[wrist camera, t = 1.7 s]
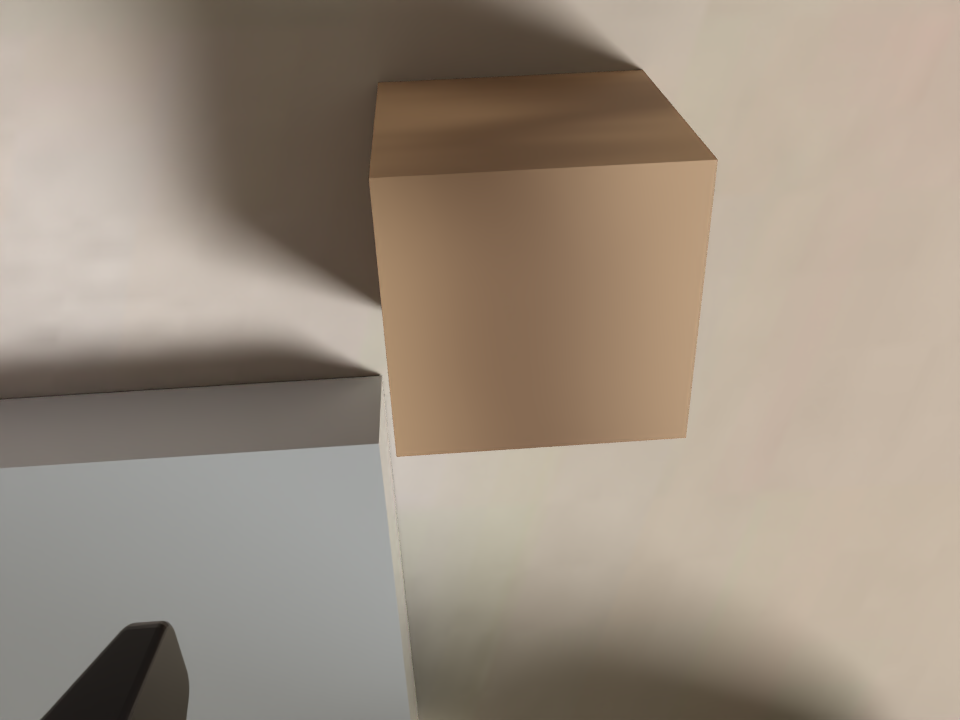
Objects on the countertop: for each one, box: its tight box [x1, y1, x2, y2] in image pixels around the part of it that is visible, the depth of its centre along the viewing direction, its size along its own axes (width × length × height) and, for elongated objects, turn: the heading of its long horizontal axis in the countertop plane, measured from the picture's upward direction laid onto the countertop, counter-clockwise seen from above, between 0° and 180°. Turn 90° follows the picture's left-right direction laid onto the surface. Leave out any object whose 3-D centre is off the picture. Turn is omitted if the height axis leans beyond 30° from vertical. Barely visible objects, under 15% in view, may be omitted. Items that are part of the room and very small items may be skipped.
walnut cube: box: [369, 70, 718, 457], centre depth 16 cm, size 5×5×5 cm
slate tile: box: [0, 376, 418, 720], centre depth 22 cm, size 12×12×2 cm
